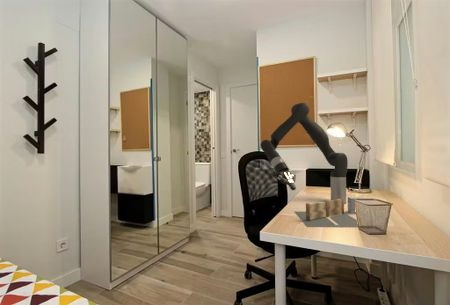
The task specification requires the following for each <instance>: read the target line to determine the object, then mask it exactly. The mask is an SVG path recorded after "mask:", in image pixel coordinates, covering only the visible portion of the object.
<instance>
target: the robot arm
mask: <svg viewBox="0 0 450 305" xmlns="http://www.w3.org/2000/svg"><path fill="white" fill-rule="evenodd" d="M290 110H291V111H290V112H291V115H290V116H289V117H288V118H287V119H286V120H285V121H284V122H282V124H280V125H278V127H276V129H275V130H274V131H273V132H272V133H271V135H270V140H269V139H264V140H262V141H261V143H260V148H261V150H262V152H264V154H265V156H266V157H267V159H268V161H269V162H270V164H271V166H272V169H273V170H274V171H275V173H276V174H277V177H276V180H277V181H279V182H281V183H282V184H283V185H287V186H288V187H289V189H290V190H291V191H296V189H297V187H296V185H295V182H296V178H297V174H292V172H290V171H289V170H290V169H289V166H288V164H287V163H286V161H285V160H284V158H282V156H281V155H280V154H279V152H278V151H277V150H276V149H277V147H278V146H279V144H280V142H281V141H282V140H283V139H284V137H285V136H286V135H287V134H288V133H289V132H290V131H291V130H292V129H293V128H294V127H295V126H296V125H297V124H298V123H299V124H300V125H301V126H302V128H303V129H304V131H305V132H306V133H307V134H308V136H309V137H310V139H311V140H312V141H313V143H314V144H315V145H316V147H317V148H318V149H319V150H320V152H321V153H322V154H323V156H324V158H325V160H326V161H327V162H328V164H329V165H330V166H332V167H334V169H333V171H331V172H330V201H331V200H337V199H340V198H344V205H345V204H347V174H348V163H349V162H348V157H347V154H345V153H344V152H336V151H335V150H334V149H333V148H332V146H331V144H330V139H329V136H328V133H326V131H325V129H323V127H321V126H320V125H319V123H317V122H316V121H314V120H313V119H312V118H311V117H310V115H309V113H310V105H309V104H307V103H306V102H300V103H299V102H298V103H296V104H294V105H292V107H291V109H290Z"/></svg>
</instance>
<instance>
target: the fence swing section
mask: <svg viewBox="0 0 450 305" xmlns="http://www.w3.org/2000/svg"><path fill="white" fill-rule="evenodd" d="M305 212H306V220H312V219H317V218H322V217H326V202H324V201H320V202H313V203H307V202H306V203H305Z"/></svg>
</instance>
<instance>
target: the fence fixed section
mask: <svg viewBox="0 0 450 305" xmlns="http://www.w3.org/2000/svg"><path fill="white" fill-rule="evenodd" d="M323 202H326V217H330V216H335V215H340V214H344V213H345V204H344V198H340V199H337V200H331V199H330V200H328V199H324V200H323Z"/></svg>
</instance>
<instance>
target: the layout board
mask: <svg viewBox="0 0 450 305" xmlns="http://www.w3.org/2000/svg"><path fill="white" fill-rule="evenodd" d="M294 213H295V214H296V216H297V217H298V218H299V219H300V220H301V222H302V223H303V224H304V225H305V226H306V228H359V227H358V224H357V219H356V218H354V217H352V216H351V215H350V214H347V213H346V212H344V214H340V215H335V216H330V217H322V218H317V219H312V220H306V211H294Z"/></svg>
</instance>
